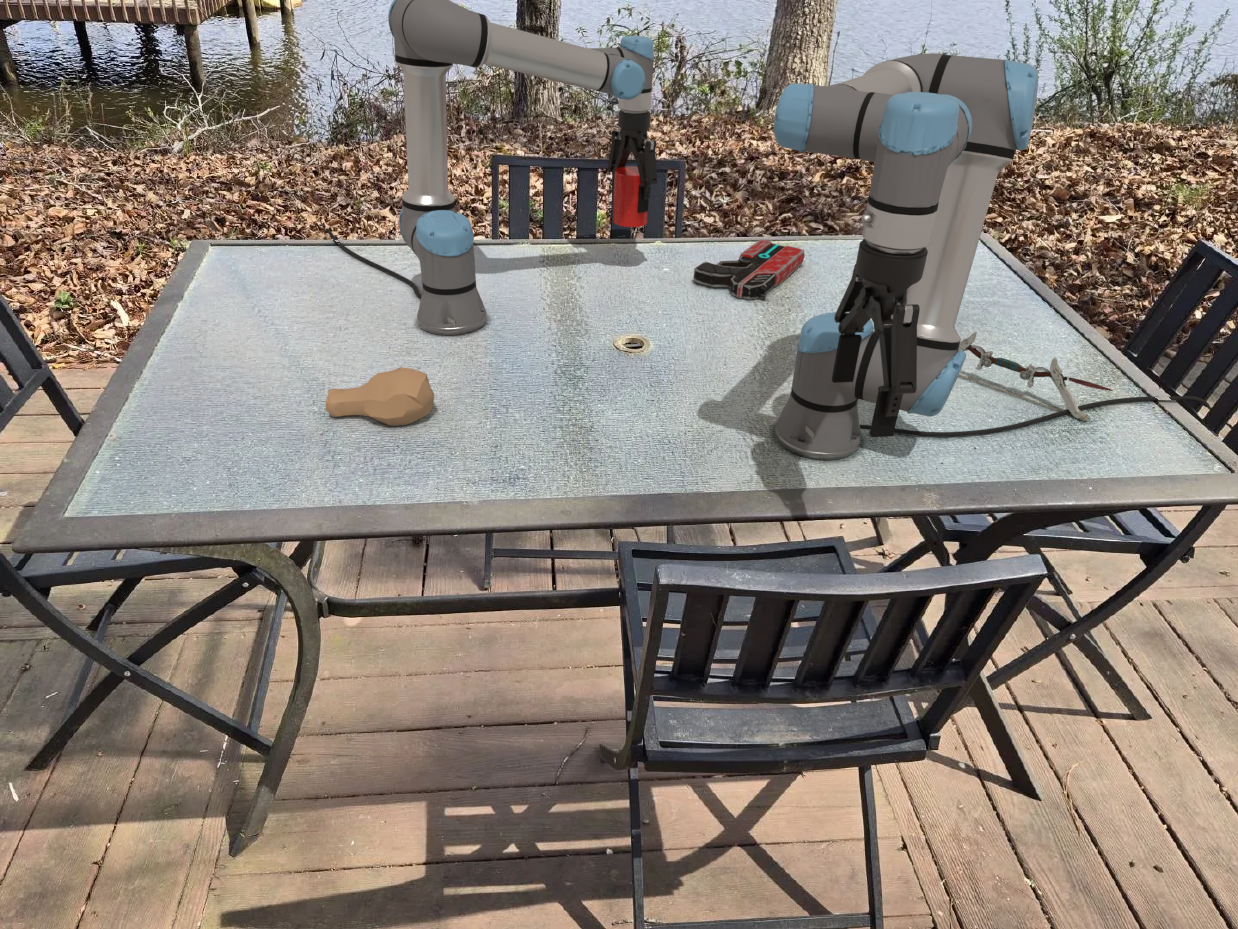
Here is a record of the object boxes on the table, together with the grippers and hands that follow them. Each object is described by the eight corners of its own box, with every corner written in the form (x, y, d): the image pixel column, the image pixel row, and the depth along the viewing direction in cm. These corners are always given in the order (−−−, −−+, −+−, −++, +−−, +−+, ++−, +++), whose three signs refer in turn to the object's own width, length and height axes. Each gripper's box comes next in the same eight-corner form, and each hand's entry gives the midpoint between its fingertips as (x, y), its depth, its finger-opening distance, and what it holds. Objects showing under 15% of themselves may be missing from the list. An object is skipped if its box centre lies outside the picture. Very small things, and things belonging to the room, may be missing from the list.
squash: (434, 432, 158) (421, 393, 152) (327, 440, 160) (310, 402, 153) (443, 394, 166) (431, 355, 160) (341, 402, 167) (325, 364, 161)
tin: (649, 226, 216) (652, 175, 209) (615, 227, 214) (617, 175, 207) (643, 216, 222) (646, 165, 216) (611, 216, 221) (612, 166, 214)
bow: (1101, 423, 166) (1119, 376, 160) (1098, 427, 165) (1116, 380, 159) (913, 357, 187) (924, 314, 182) (909, 360, 186) (919, 316, 181)
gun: (689, 269, 215) (762, 288, 207) (741, 232, 237) (809, 248, 229) (687, 286, 217) (759, 305, 209) (739, 248, 239) (806, 264, 231)
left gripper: (677, 116, 199) (670, 215, 212) (618, 100, 213) (615, 193, 225) (652, 120, 195) (647, 221, 208) (593, 103, 208) (592, 198, 221)
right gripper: (826, 208, 108) (801, 362, 120) (907, 286, 88) (868, 462, 100) (883, 207, 109) (854, 360, 121) (977, 284, 89) (931, 459, 101)
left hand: (630, 206), depth 216 cm, fingers closed on tin, 8 cm apart
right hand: (860, 406), depth 110 cm, fingers open, 13 cm apart
